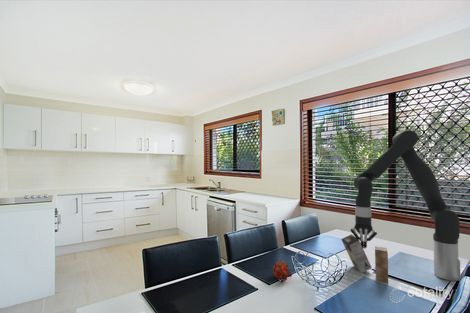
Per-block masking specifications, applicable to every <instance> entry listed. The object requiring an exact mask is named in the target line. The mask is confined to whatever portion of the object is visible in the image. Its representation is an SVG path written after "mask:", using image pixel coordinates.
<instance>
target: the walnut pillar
mask: <svg viewBox="0 0 470 313" xmlns="http://www.w3.org/2000/svg"><path fill="white" fill-rule="evenodd" d="M374 260H375V262H374V264H375V265H374V267H375V269H374V270H375V282H379V283H383V284H389V254H388V248H387V247H383V246H374Z"/></svg>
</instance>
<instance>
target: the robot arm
mask: <svg viewBox="0 0 470 313" xmlns="http://www.w3.org/2000/svg"><path fill="white" fill-rule="evenodd" d="M418 141H419V135H418V134H417V132H415V131H414V130H412V129H405V130H402V131H400V132H397V133H395V135H394V136H393V137H392V145H391V146H390V147H389V148H388V150H386V151H385V152H384V153H382V154H380V156H379V157H378V158H376V159H375V160H374V161H373V162H372V163H371V164H370V166H368V167H367V169H366V170H364V171H363V172H362V173H360V174H359V175H357V176H356V177H355V179H354V181H353V186H354V188H355V189H357V190H358V191H357V195H356V197H355V210H354V212H355V213H354V214H355V217H354V218H355V219H354V220H355V224H354V227H352V228H350V232H351V233H352V235H353V236H354V237H356V238H357V239H359V241H360V243H361V245H362V247H363V250H365V249H367V247H368V242H370V241H371V240H373V239H374V238H375V237H376V236H377V234H378V232H377V231H376V230H375V229H373V226H372V207H371V206H372V205H371V204H372V202H371V199H372V193H373V187H374V186H373V181H374V180H377V179H380V177H381V176H382V175H383V174H384V173H385V172H386V171H387V170H388V169H389V168H390V167H391V166H392V165H393V163H395V162H396V161H397V159H399V158H400V157H401V159H402V161H403V162H404V165H405V167H406V168H407V171H408V173H409V175H410V177H411V179H412V181H413V183H414V185H415V187H416V189H417V190H418V192H419V193H420V195H421V196H422V199H423V200H424V202H425V204H426V207H427V211H428V212H429V215H430V218H431V220H432V221H433V223H434V233H433V234H432V235H433V236H432V238H433V245H432V246H433V272H434V276H436V277H438V278H439V279H442V280H446V281H452V282H454V281H455V282H456V281H459V282H460V279H461V280H462V276H461V274H462V273H461V259H459V239H460V232H461V231H460V227H461V226H460V223H461V222H460V218H459V216H458V214H457V213H456V212H454V211H453V210H451V209H450V208H449V207H448V206H447V204H446V202H445V200H444V199H443V197H442V195H441V191H440V186H439V182H438V180H437V178H436V175H435V174H434V172H433V170H432V169H431V167H430V166H429V165H428V164H427V163H426V162H425V161H424V160H423V159H422V158H421V157H420V155H418V153H417V151H416V149H415V147H414V146H416V145H417V144H418ZM357 232H358V233H357ZM370 233H371V235H369V234H370ZM358 234H359V235H358ZM368 235H369V236H368Z"/></svg>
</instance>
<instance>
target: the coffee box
mask: <svg viewBox="0 0 470 313" xmlns="http://www.w3.org/2000/svg"><path fill="white" fill-rule="evenodd" d="M341 241H342V244H343V246H344V248H345V250H346V253H347V255H348V256H349V259H350V261H351V263H352V265H353V266H354V268H355V269H357V271H359V272H360V273H361V274H362V273H365V272H367V271H369V270H371V269H373V268H372V265H371V263H370V261H369V259H368V258H369V257H367V255H366V252H365V249H364V248H363V247H362V245H361V241H360V240H359V239H357V238H356V237H355V236H354V235H353V233H352V234H349V235H347V236H345V237H343V238H341Z"/></svg>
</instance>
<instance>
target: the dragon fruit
mask: <svg viewBox="0 0 470 313" xmlns="http://www.w3.org/2000/svg"><path fill="white" fill-rule="evenodd" d="M272 269H273V272H272V273H273V276H274V277H275V278H276V279H277V280H278V279H280V280H281V279H283V280H281V281H282V282H283V281H287V280H288V278H292V276H293V274H292V273H291V272H290V271H291V269H290V267H289V264H288V263H287V262H284V261H283V260H281V261H276V263H274V265H273V266H272ZM281 281H280V282H281Z"/></svg>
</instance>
